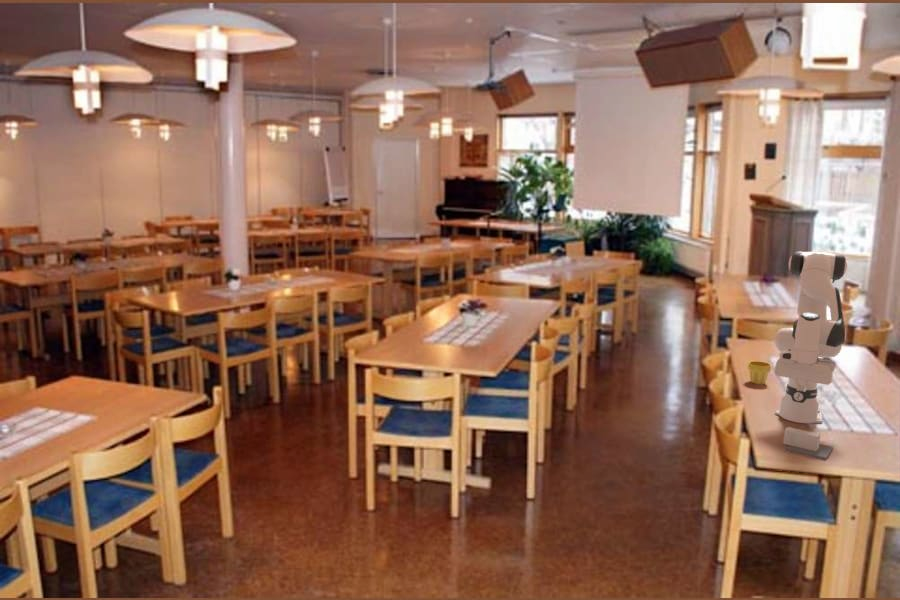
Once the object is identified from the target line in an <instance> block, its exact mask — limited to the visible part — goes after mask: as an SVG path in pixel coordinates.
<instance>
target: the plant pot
mask: <svg viewBox="0 0 900 600" xmlns="http://www.w3.org/2000/svg"><path fill="white" fill-rule="evenodd" d="M747 369H748V371H749V376H750V377H749V379H750V383H752V384H756V385H765V384H766V381H767V378H768V377H769V376H768V375H769V373H770V372H771V369H772V364H771V363H769V362H765V361H761V360H751V361H749V362H748V366H747Z"/></svg>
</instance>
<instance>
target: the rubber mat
mask: <svg viewBox="0 0 900 600" xmlns="http://www.w3.org/2000/svg"><path fill="white" fill-rule="evenodd" d="M833 449H834V446H831V445H827V444H823V443H819V448H818V450H817V451H812V450H807V449H803V448H799V447H795V446H791V445H788V446H787V447H786V449H785V451H786V452H788V451H789V452H788V453H792V452H793V454H796V453H798V454H797V455H801V454H802V455H801V456H805V455H806V456H805V457H810V456H811V458H814V457H815V459H818V458H820V459H819V460H823V459H824V460H823V461H827V460H826V459H828V458H829V457H830V455H831V453H832V452H833Z"/></svg>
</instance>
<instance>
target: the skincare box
mask: <svg viewBox="0 0 900 600" xmlns="http://www.w3.org/2000/svg"><path fill="white" fill-rule="evenodd" d="M820 440H821V433H819V432H818V433H817V432H813V431H809V430H803V429H799V428H795V427H790V426H787V427H786V428H785V429H784V435H783V444H784V445H788V446H789V445H791V446H795V447H799V448H803V449H807V450H812V451H817V450H818V448H819V444H820Z"/></svg>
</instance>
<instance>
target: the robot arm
mask: <svg viewBox="0 0 900 600" xmlns="http://www.w3.org/2000/svg"><path fill="white" fill-rule="evenodd" d="M788 269H789V272H790V274H792V275H793V276H796V277H800V280H799V281H800V290H799V295H798V303H797V311H796V313H797V316H798V318H797V319H796V320H794V321H793V323H792V326H793V327H782V328H779V330H777V331H776V333H775V336H774V344H775V345H774V346H775V347H776V349H777V350H778V351H780V353H779V358H778V359H777V361H776V363H775V366H774V372H773V373H774V375H775V376H778V377H782V378H788V383H787V385H786V388H785V389H786V393H785V394H783V396H781V400H780V407H779V409H777V410H775V412H774V414H775V415H777V416H780V417H781V418H782V419H784V420H787V421H789V422H794V423H799V424H822V423H823V414H822V411H821V410H820V409H819V404H820V403H819V400H818V398H817V396H818V388H817V386H818V384H822V385H827V386H829V385H830V384H831V383H832V382H833V379H834V378H833V375H834V374H833V373H834V371H835V368H836V367H835V366H836V365H835V362H833V361H832V360H831V359H826V358H835V357H836V356H838V355H839V353H840V352H841V350H842V348H843V347H842V346H843V344H844V343H845V341H846V339H847V329H846V326H845V321H844V315H843V313H844V312H843V308H842V307H843V306H842V299H841V298H842V297H841V295H840V291H839V288H837V287H836V286H835V285H834V284H833V283H835V281H838V280H841V279H842V278H843V277H844V275H845V274H846V273H847V270H848V262H847V259H846V256H845V255H842V254H841V253H840V254H839V253H836V254H835V253H831V252H830V253H829V252H825V251H802V250H800V251H794V252H793V253H792V254H791V256H790V258H789V260H788ZM827 307H829V312H830V319H828V317H827V309H828V308H827Z"/></svg>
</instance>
